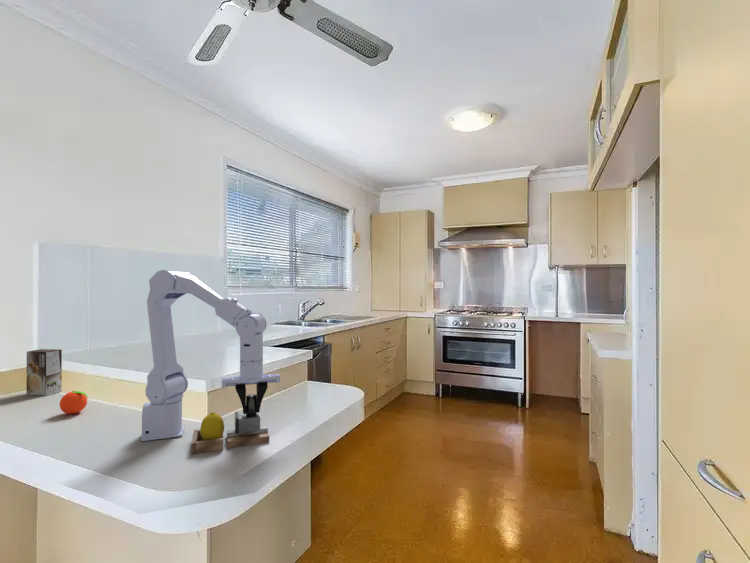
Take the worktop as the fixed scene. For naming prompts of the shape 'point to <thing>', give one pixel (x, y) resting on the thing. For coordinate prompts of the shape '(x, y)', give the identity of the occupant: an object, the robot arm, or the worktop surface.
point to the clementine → (73, 402)
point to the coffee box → (44, 371)
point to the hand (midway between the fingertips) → (251, 412)
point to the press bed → (247, 437)
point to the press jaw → (248, 417)
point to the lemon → (212, 427)
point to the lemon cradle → (205, 444)
